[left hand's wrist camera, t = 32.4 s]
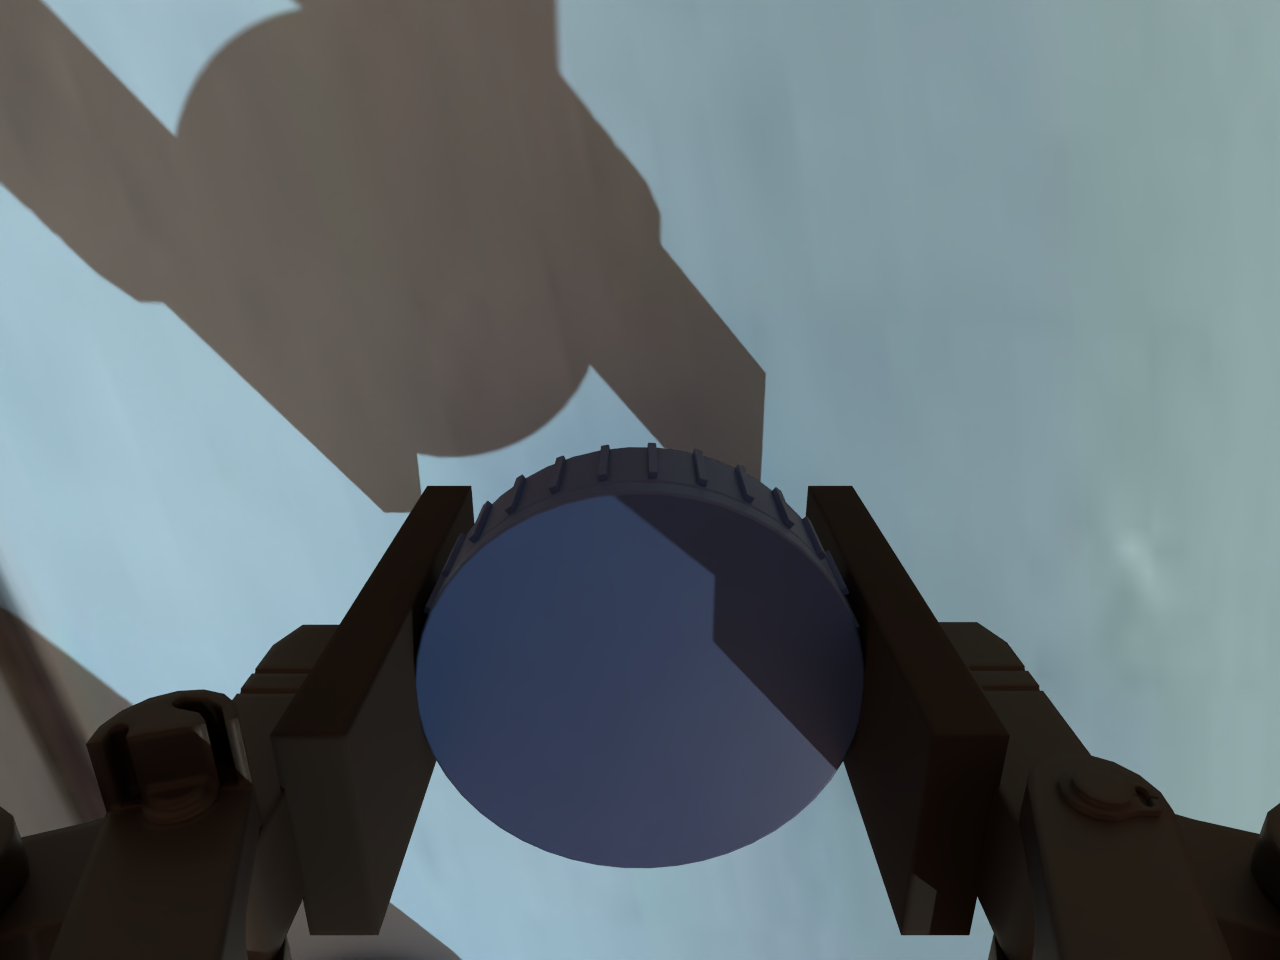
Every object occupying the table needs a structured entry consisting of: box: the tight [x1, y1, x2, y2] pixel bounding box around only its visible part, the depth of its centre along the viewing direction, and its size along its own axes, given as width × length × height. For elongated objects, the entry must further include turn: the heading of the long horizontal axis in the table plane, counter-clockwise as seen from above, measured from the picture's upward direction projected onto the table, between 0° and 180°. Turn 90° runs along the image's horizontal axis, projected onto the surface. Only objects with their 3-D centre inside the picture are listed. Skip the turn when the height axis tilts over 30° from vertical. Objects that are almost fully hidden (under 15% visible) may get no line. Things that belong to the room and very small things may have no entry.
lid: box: [415, 443, 865, 868], centre depth 11 cm, size 6×6×2 cm
